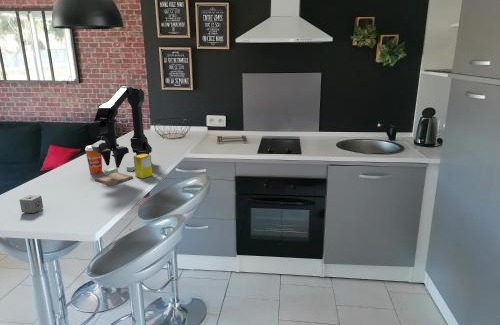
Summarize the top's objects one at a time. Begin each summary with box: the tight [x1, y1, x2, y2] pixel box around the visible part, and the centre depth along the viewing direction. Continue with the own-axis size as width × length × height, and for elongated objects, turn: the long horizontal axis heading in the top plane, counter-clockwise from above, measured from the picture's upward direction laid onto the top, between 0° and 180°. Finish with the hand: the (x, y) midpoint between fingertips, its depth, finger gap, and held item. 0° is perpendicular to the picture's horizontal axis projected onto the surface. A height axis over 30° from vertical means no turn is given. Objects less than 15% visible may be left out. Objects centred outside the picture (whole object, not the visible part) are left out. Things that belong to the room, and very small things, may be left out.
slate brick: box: [126, 163, 135, 172], centre depth 185 cm, size 6×3×3 cm, turn 158°
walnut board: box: [94, 171, 134, 186], centre depth 171 cm, size 12×12×2 cm
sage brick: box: [103, 167, 119, 176], centre depth 179 cm, size 6×3×3 cm, turn 158°
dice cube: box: [19, 194, 44, 214], centre depth 136 cm, size 5×5×5 cm
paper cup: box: [84, 144, 103, 175], centre depth 180 cm, size 8×8×14 cm
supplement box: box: [133, 154, 153, 180], centre depth 174 cm, size 6×6×11 cm
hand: (112, 166), depth 169 cm, fingers open, 7 cm apart
